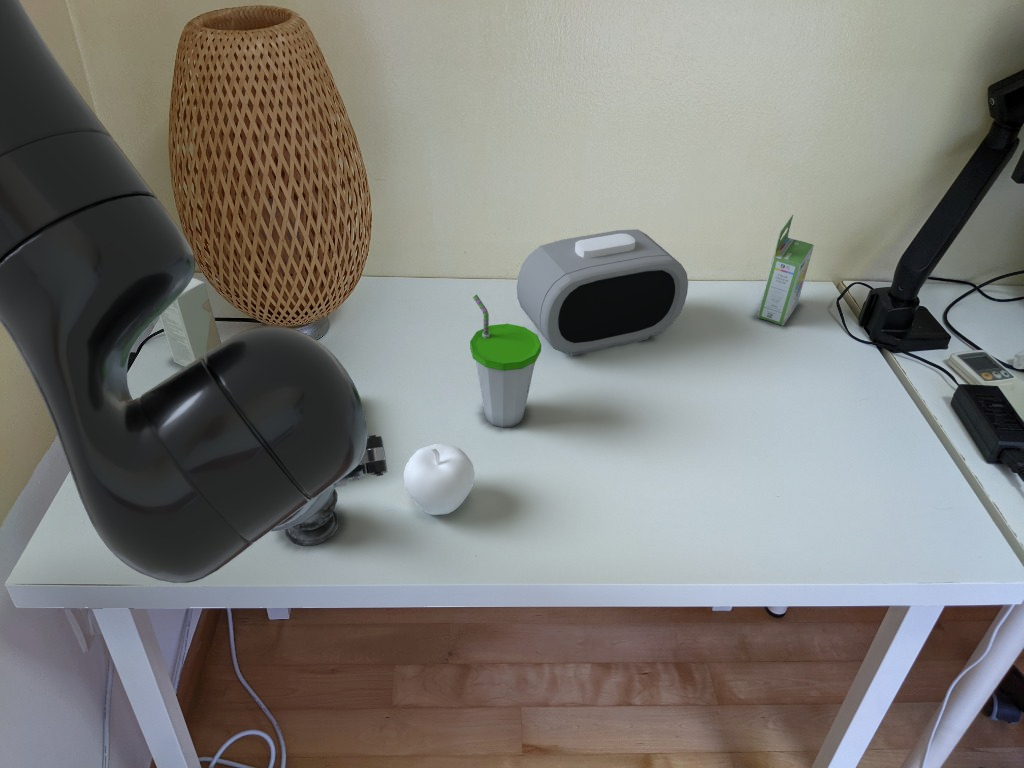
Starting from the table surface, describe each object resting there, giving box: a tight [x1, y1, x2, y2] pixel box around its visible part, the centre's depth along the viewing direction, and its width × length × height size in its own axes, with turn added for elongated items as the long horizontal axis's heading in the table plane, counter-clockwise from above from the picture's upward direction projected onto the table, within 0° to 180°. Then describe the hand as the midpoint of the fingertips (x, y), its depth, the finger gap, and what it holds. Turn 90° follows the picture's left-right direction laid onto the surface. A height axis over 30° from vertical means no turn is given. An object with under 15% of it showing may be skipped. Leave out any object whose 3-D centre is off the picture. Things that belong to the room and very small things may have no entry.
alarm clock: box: [516, 228, 689, 357], centre depth 102 cm, size 21×10×13 cm, turn 112°
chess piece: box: [283, 488, 339, 547], centre depth 73 cm, size 6×6×12 cm
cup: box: [469, 293, 542, 428], centre depth 87 cm, size 8×8×15 cm
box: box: [159, 277, 222, 368], centre depth 95 cm, size 5×4×11 cm
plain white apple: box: [403, 442, 476, 516], centre depth 77 cm, size 7×7×8 cm
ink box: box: [757, 214, 815, 326], centre depth 107 cm, size 7×4×13 cm, turn 148°
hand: (293, 474), depth 62 cm, fingers open, 8 cm apart
